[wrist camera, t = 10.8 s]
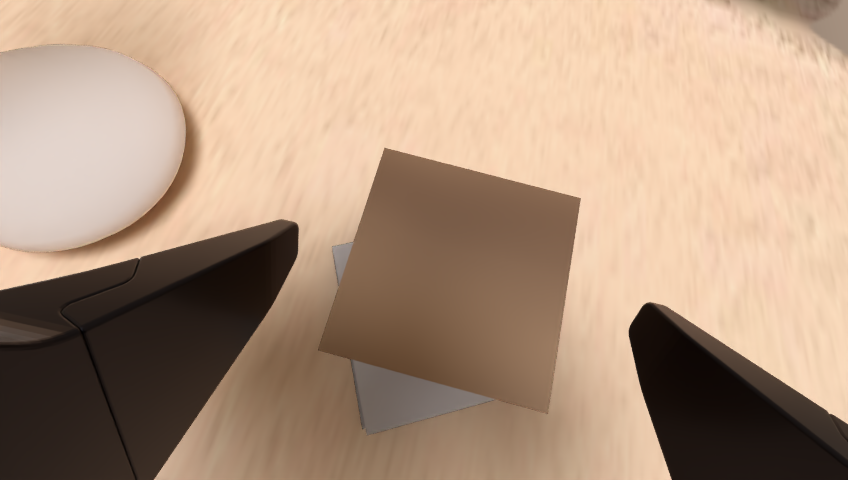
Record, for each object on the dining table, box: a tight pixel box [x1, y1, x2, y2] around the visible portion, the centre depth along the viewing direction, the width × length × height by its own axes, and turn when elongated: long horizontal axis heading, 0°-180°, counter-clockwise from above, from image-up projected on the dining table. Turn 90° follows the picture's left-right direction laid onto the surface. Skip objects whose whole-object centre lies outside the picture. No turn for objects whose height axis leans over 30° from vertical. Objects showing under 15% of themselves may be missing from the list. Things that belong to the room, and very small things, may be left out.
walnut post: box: [318, 148, 581, 414], centre depth 13 cm, size 5×5×10 cm
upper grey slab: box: [332, 242, 496, 435], centre depth 18 cm, size 9×9×1 cm
